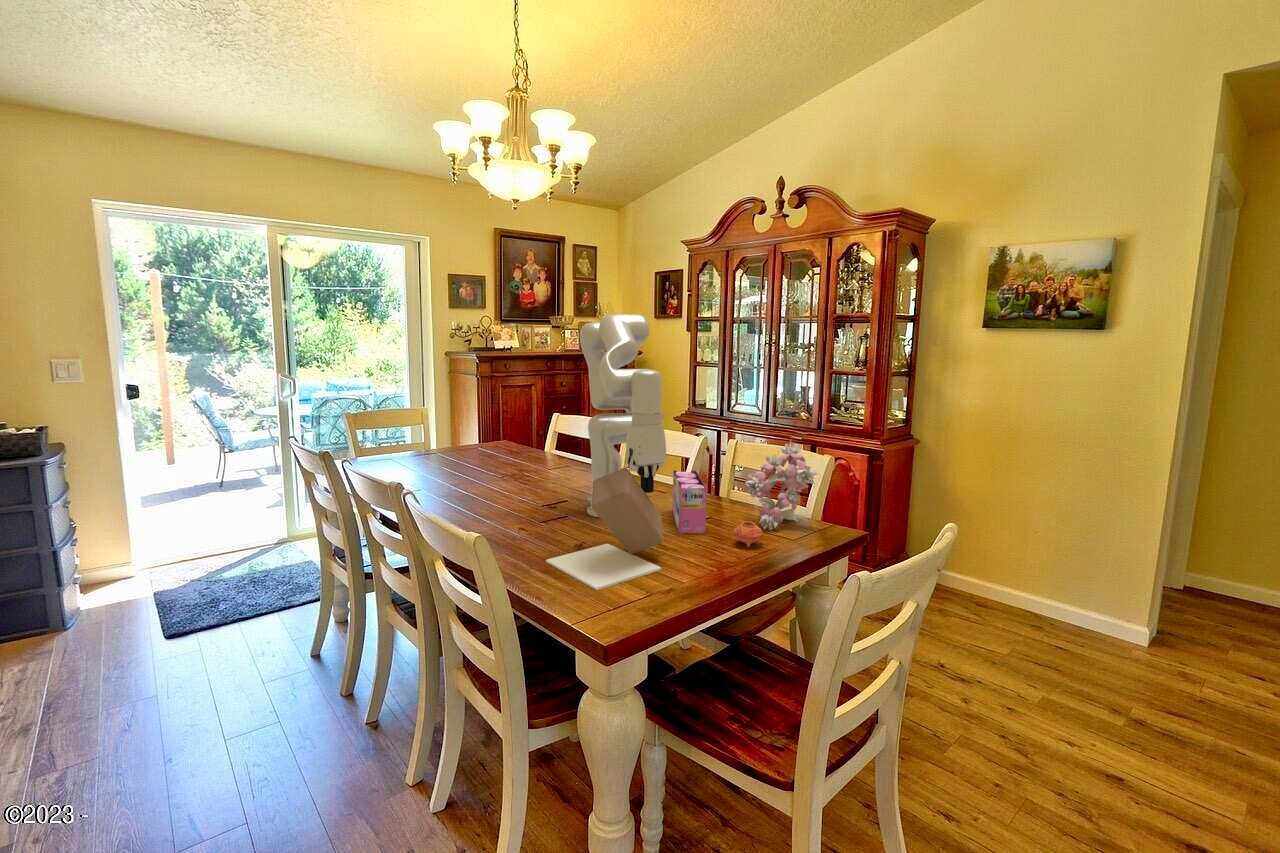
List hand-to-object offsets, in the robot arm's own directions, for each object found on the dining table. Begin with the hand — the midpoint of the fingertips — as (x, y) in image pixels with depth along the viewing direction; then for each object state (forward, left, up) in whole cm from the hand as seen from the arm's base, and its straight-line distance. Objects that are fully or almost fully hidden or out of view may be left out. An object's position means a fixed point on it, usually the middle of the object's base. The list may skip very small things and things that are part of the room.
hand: (647, 491), depth 155 cm
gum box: (-14, +28, -17) cm, 35 cm away
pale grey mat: (-1, -13, -17) cm, 21 cm away
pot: (+11, +26, -17) cm, 33 cm away
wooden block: (-1, +1, -12) cm, 12 cm away
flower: (+5, +46, -17) cm, 49 cm away
